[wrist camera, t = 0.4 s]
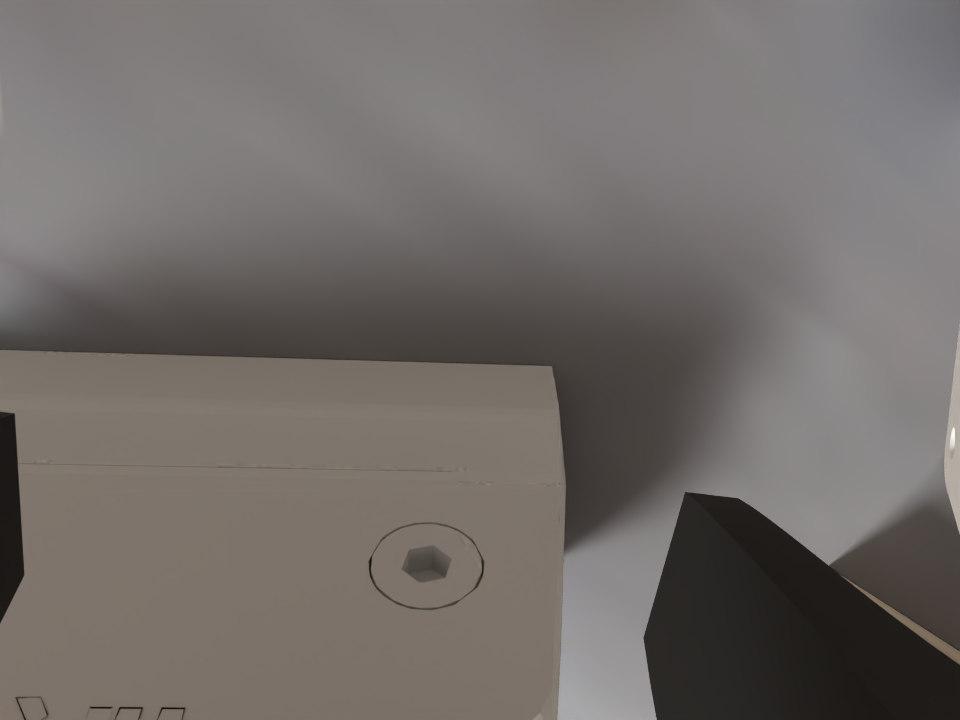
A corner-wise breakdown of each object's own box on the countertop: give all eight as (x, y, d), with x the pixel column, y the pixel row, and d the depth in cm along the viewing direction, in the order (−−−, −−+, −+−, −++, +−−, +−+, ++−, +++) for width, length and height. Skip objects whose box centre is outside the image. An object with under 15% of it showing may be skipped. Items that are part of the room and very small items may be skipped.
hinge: (569, 366, 20) (651, 791, 12) (549, 515, 23) (604, 945, 14) (-185, 343, 19) (-670, 785, 11) (-113, 501, 22) (-458, 950, 14)
